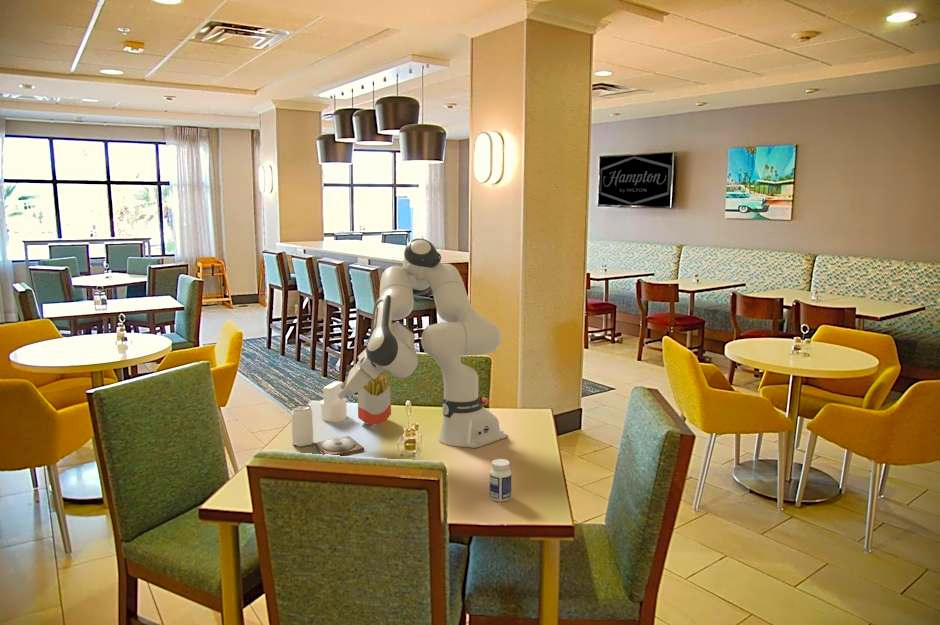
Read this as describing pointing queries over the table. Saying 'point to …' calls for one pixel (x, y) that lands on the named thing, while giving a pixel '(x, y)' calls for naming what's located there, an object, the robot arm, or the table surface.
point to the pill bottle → (500, 480)
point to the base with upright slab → (333, 403)
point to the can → (302, 425)
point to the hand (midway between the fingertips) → (340, 392)
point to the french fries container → (374, 401)
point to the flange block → (339, 446)
